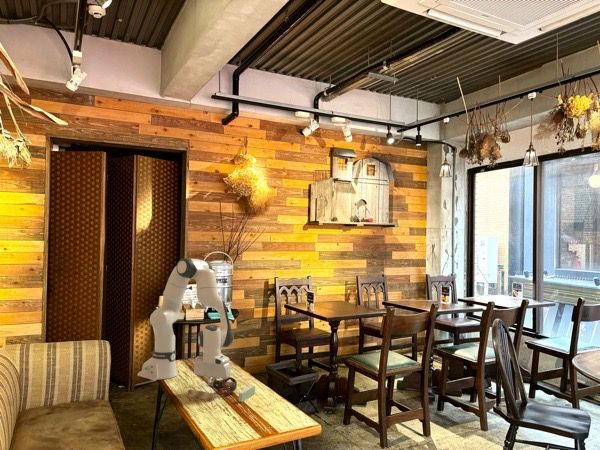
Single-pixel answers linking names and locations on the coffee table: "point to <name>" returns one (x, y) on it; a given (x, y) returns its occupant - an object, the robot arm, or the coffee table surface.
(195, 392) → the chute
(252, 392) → the block
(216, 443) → the coffee table surface
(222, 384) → the broken brown clay pot
